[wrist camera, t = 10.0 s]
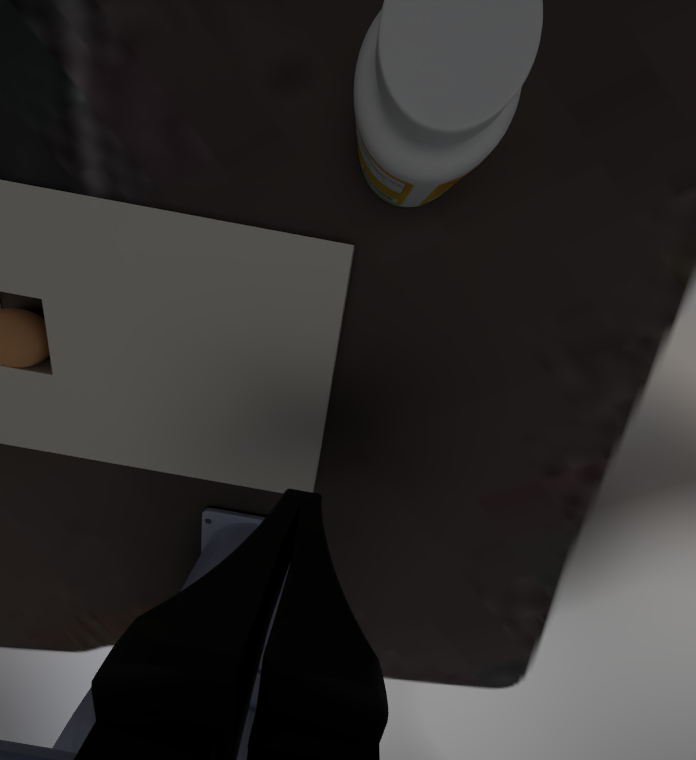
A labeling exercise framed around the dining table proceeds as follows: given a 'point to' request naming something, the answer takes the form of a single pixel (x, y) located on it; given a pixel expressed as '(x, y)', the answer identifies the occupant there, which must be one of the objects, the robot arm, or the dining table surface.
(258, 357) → the white flat board
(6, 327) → the ball
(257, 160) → the dining table surface
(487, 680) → the dining table surface
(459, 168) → the supplement bottle
